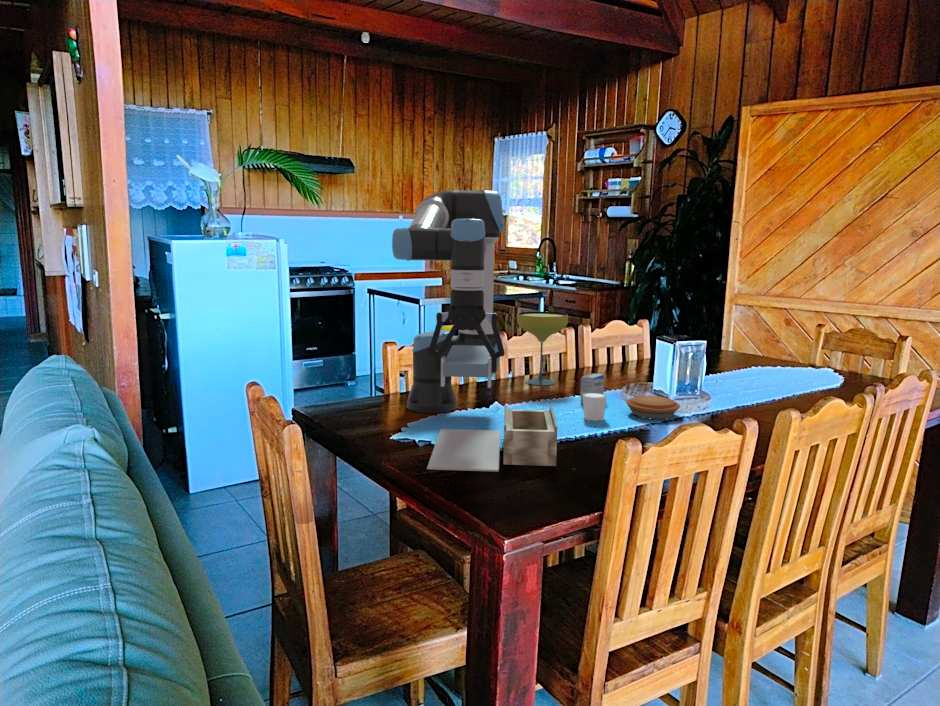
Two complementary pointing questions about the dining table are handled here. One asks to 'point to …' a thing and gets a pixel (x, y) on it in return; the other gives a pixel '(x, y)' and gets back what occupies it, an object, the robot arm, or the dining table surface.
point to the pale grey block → (466, 361)
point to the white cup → (594, 406)
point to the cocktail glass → (542, 333)
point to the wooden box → (530, 437)
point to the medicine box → (592, 384)
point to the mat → (466, 450)
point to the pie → (653, 407)
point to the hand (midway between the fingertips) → (466, 385)
